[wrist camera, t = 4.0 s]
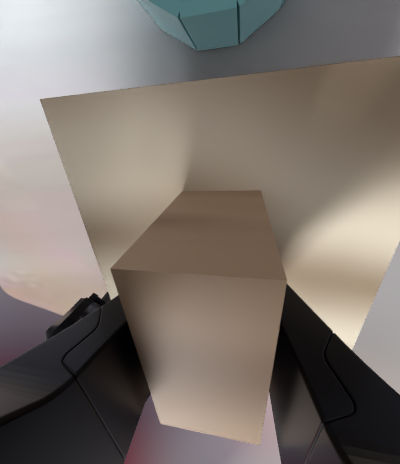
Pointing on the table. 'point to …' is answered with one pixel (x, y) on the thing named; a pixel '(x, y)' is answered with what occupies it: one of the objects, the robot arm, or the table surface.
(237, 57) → the table surface
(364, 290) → the cover board
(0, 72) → the table surface
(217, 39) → the bowl
